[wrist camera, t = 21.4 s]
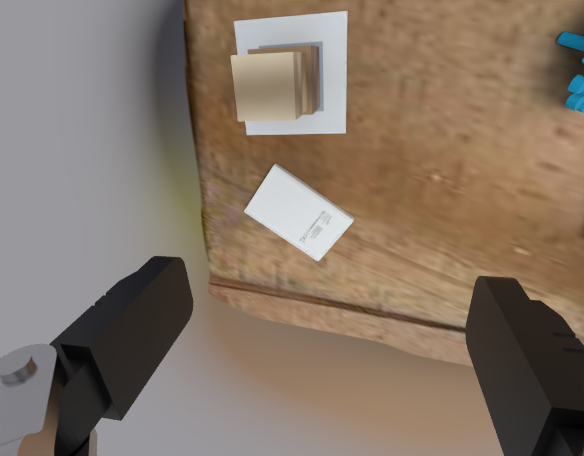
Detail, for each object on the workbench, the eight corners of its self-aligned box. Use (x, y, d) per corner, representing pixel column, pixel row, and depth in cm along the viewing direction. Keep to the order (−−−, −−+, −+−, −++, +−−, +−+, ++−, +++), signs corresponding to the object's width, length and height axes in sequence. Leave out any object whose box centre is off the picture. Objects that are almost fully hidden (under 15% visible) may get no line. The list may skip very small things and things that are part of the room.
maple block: (253, 55, 32) (230, 55, 27) (305, 52, 31) (292, 51, 26) (258, 111, 34) (238, 121, 29) (307, 110, 33) (295, 120, 28)
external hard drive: (276, 161, 43) (354, 216, 45) (246, 207, 47) (319, 257, 48) (273, 164, 42) (354, 221, 43) (242, 212, 46) (317, 263, 47)
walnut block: (264, 50, 37) (247, 49, 32) (319, 46, 36) (310, 45, 30) (269, 108, 40) (253, 116, 34) (320, 106, 38) (312, 114, 33)
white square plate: (235, 21, 37) (233, 21, 36) (347, 11, 34) (347, 10, 34) (247, 134, 42) (246, 135, 42) (345, 132, 39) (345, 133, 39)
